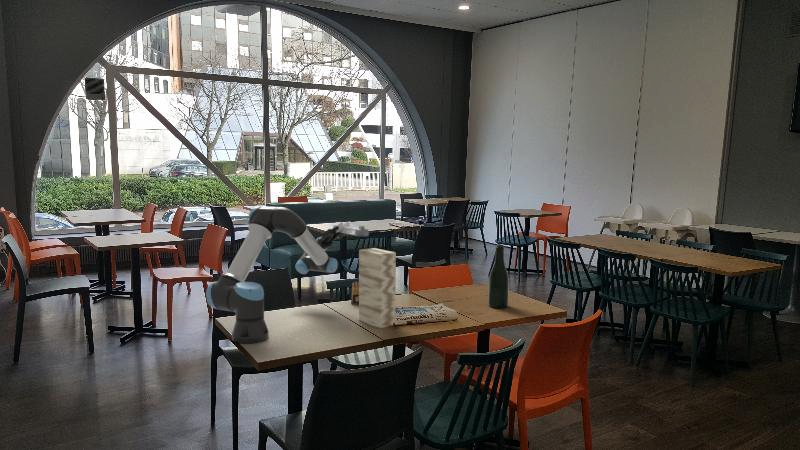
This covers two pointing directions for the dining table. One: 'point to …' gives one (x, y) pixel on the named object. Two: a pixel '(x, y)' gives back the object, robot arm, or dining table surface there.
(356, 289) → the ammunition clip
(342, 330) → the dining table surface
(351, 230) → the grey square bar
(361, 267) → the stand
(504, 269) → the beer bottle
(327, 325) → the dining table surface
